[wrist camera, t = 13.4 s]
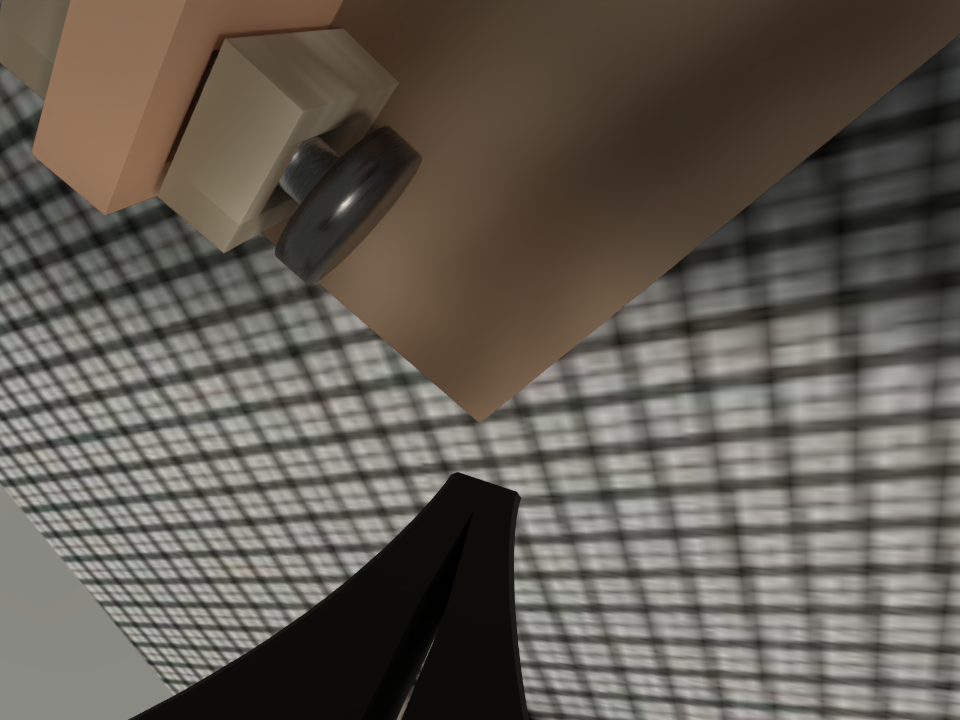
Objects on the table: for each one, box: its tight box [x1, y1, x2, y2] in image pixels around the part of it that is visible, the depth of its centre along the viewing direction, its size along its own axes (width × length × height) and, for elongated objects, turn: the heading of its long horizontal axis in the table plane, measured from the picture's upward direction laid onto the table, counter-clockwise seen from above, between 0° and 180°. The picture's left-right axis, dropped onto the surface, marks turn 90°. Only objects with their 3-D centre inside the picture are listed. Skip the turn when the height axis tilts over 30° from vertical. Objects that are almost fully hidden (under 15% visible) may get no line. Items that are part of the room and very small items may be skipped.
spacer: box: [31, 0, 343, 215], centre depth 14 cm, size 2×6×6 cm, turn 140°
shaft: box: [190, 49, 422, 285], centre depth 14 cm, size 8×4×4 cm, turn 50°
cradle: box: [0, 0, 960, 423], centre depth 13 cm, size 18×18×6 cm
